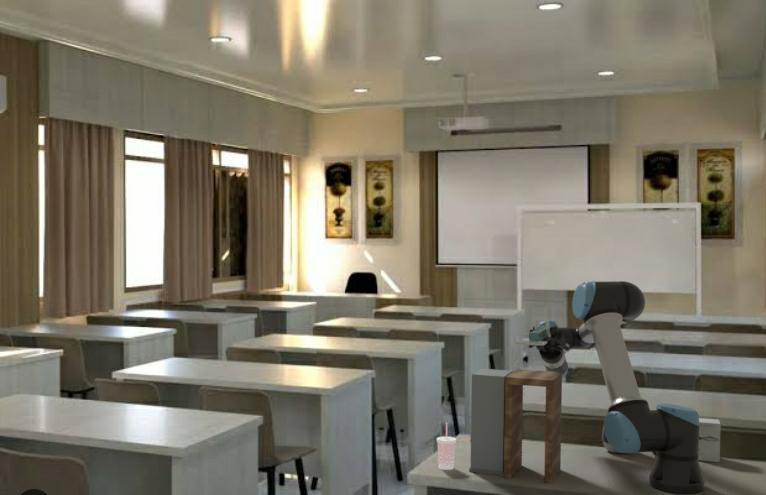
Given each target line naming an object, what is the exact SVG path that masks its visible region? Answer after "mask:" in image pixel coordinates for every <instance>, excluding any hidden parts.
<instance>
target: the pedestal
mask: <svg viewBox="0 0 766 495" xmlns="http://www.w3.org/2000/svg"><path fill="white" fill-rule="evenodd" d="M512 372H514V370H506V369H496V368H495V369H494V368H480V369H478V370H477V371H475V372H474V373H471V399H470V400H471V401H470V402H471V406H470V407H471V409H470V410H471V412H470V413H471V414H470V417H471V418H470V435H471V441H470V467H469V470H468V472H469V473H470V472H471V473H479V474H489V475H498V476H504V433H505V377H506V376H508V375H509V374H511V373H512Z"/></svg>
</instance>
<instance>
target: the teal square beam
mask: <svg viewBox="0 0 766 495" xmlns="http://www.w3.org/2000/svg"><path fill="white" fill-rule="evenodd" d="M529 332H530V331H529ZM547 337H548V334H547V331H546V326H541V327H539V328H537V329H535V330H534V331H532V332H530V333H529V334H528V339H519V340H517V341H516V345H528V346H529V345H541V346H544V345H545V344H547V341H542V340H544V339H545V338H547Z"/></svg>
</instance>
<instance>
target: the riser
mask: <svg viewBox="0 0 766 495" xmlns="http://www.w3.org/2000/svg"><path fill="white" fill-rule="evenodd" d="M524 386H527V387H528V386H531V387H543V388H545V418H544V419H545V421H544V422H545V423H544V424H545V425H544V428H545V430H544V431H545V432H544V477H543V478H544V481H543V482H544V483H545V484H553V482H554V480H555V479H556V477H557V475H558V474H559V472H560V471H561V465H562V463H561V462H562V461H561V459H562V458H561V454H562V453H561V452H562V451H561V450H562V447H561V446H562V398H563V396H562V394H563V393H562V392H563V390H562V389H563V387H562V386H563V378H562V372H550V371H546V370H533V369H520V368H517V369H515V370H513V372H512V373H511V374H509V375H508V376H506V377H505V433H504V475H503V479H507V480H508V479H509V480H511V479H512V478H513V476H514V475H516V473H517V471H518V470H520V468H521V467H522V466H523V465H522V464H523V458H522V457H523V411H524V410H523V408H524V406H523V405H524V404H523V403H524V396H523V395H524Z"/></svg>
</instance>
